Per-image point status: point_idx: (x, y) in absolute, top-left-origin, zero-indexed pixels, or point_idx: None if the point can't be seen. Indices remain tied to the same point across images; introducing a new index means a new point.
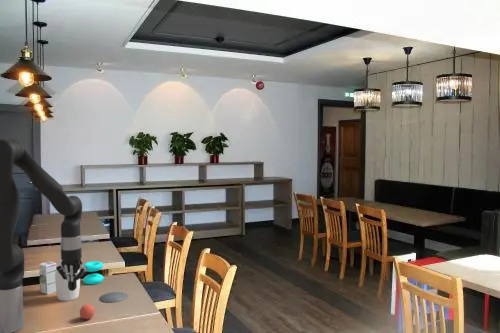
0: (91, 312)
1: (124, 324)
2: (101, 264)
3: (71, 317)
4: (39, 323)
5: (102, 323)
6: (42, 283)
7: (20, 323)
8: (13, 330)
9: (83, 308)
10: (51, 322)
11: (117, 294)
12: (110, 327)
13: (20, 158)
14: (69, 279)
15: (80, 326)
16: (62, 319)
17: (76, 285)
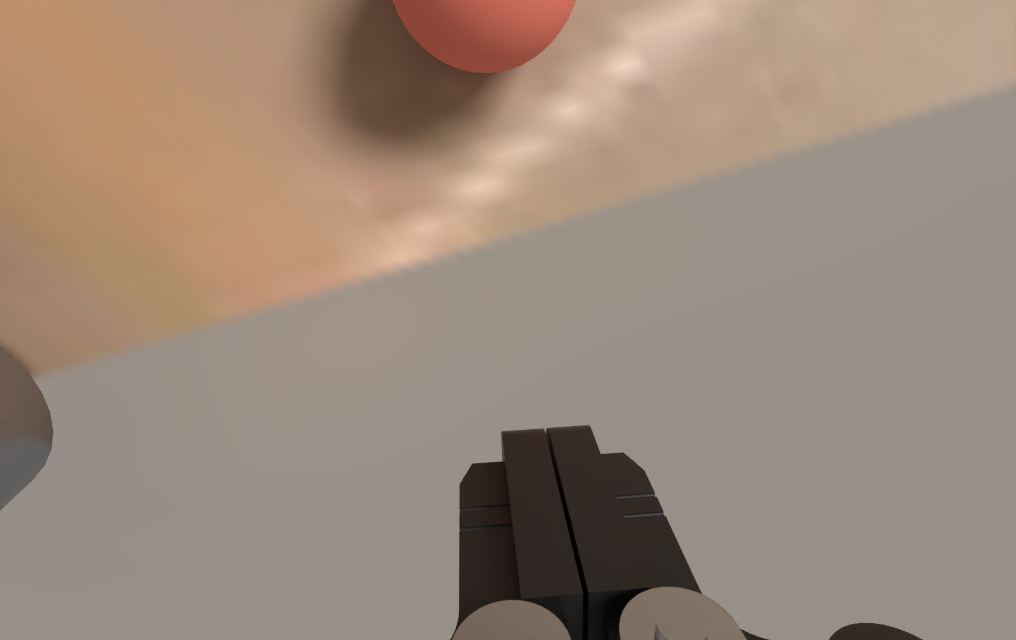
0: (573, 4)
1: (951, 5)
2: None
3: (274, 4)
4: (79, 245)
5: (712, 51)
6: None
7: (9, 432)
8: (38, 467)
9: (477, 35)
10: (174, 190)
11: None
12: (832, 115)
13: None
14: None
15: (530, 183)
16: (220, 87)
17: (656, 500)
